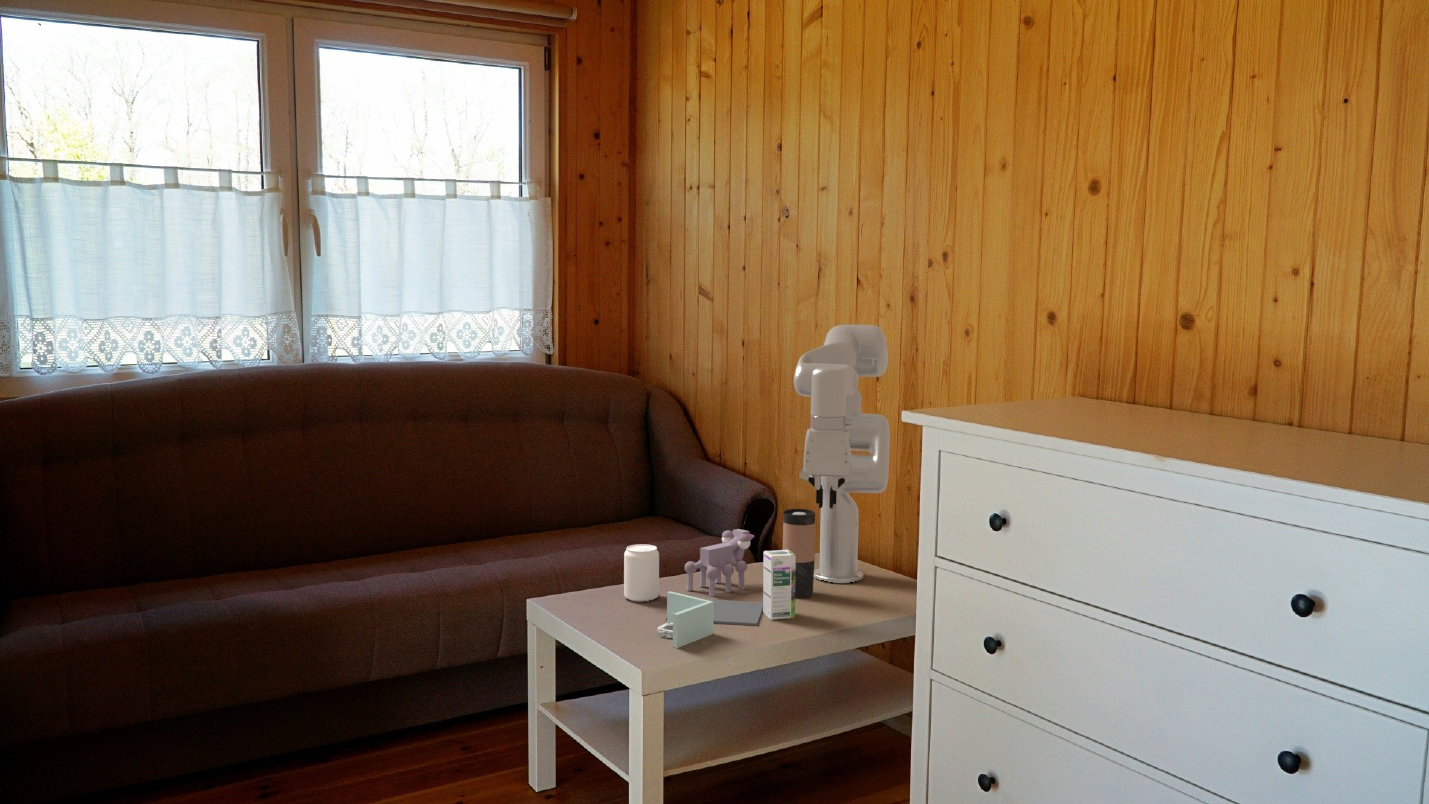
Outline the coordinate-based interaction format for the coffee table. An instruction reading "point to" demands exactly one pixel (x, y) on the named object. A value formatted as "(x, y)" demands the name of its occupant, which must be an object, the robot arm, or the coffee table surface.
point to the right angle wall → (687, 619)
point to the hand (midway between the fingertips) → (826, 506)
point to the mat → (736, 612)
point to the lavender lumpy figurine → (721, 561)
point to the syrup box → (779, 584)
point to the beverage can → (641, 572)
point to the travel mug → (801, 547)
